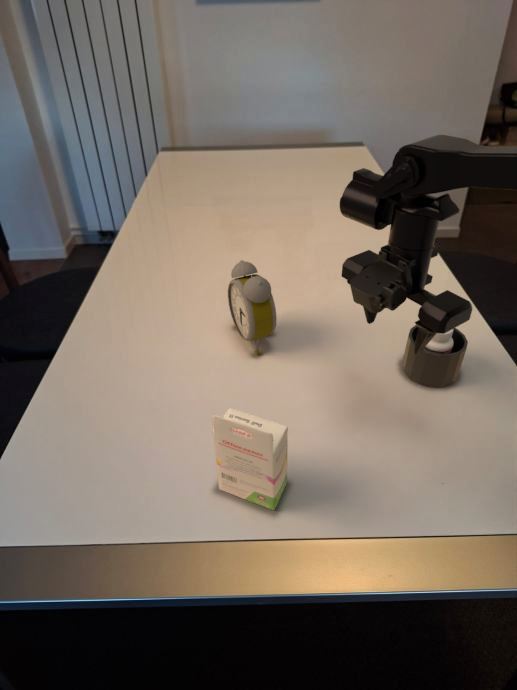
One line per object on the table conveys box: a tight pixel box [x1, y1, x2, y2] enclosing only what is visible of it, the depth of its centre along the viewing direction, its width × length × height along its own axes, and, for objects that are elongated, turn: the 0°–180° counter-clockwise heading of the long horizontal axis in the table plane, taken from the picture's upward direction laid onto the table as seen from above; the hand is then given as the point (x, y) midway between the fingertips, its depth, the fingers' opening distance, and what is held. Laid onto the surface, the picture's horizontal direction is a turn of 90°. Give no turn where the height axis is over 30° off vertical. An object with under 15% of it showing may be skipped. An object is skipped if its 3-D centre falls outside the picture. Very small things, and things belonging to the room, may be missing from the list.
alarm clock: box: [227, 259, 277, 355], centre depth 91 cm, size 12×7×15 cm, turn 23°
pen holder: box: [401, 324, 469, 389], centre depth 85 cm, size 9×9×7 cm
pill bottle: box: [424, 329, 453, 354], centre depth 84 cm, size 5×5×9 cm
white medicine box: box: [212, 407, 289, 511], centre depth 64 cm, size 9×5×15 cm, turn 65°
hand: (392, 337), depth 74 cm, fingers open, 9 cm apart
